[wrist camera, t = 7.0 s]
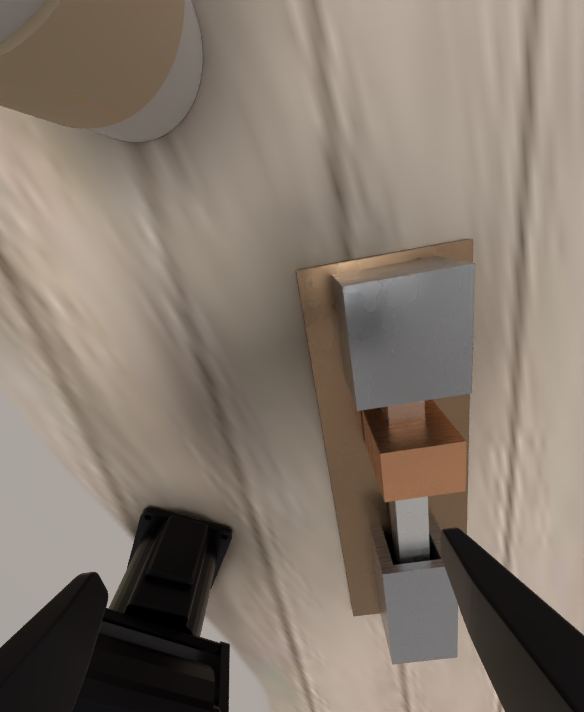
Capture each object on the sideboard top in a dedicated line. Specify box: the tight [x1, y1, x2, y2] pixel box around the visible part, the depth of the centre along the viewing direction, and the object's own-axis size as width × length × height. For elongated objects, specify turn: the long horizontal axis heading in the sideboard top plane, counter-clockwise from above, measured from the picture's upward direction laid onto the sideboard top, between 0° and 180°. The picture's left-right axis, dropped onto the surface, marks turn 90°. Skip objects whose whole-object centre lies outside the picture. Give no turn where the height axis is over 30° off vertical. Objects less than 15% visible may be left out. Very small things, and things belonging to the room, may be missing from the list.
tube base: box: [296, 239, 475, 664], centre depth 20 cm, size 28×9×4 cm, turn 10°
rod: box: [362, 400, 466, 564], centre depth 19 cm, size 16×4×4 cm, turn 10°
